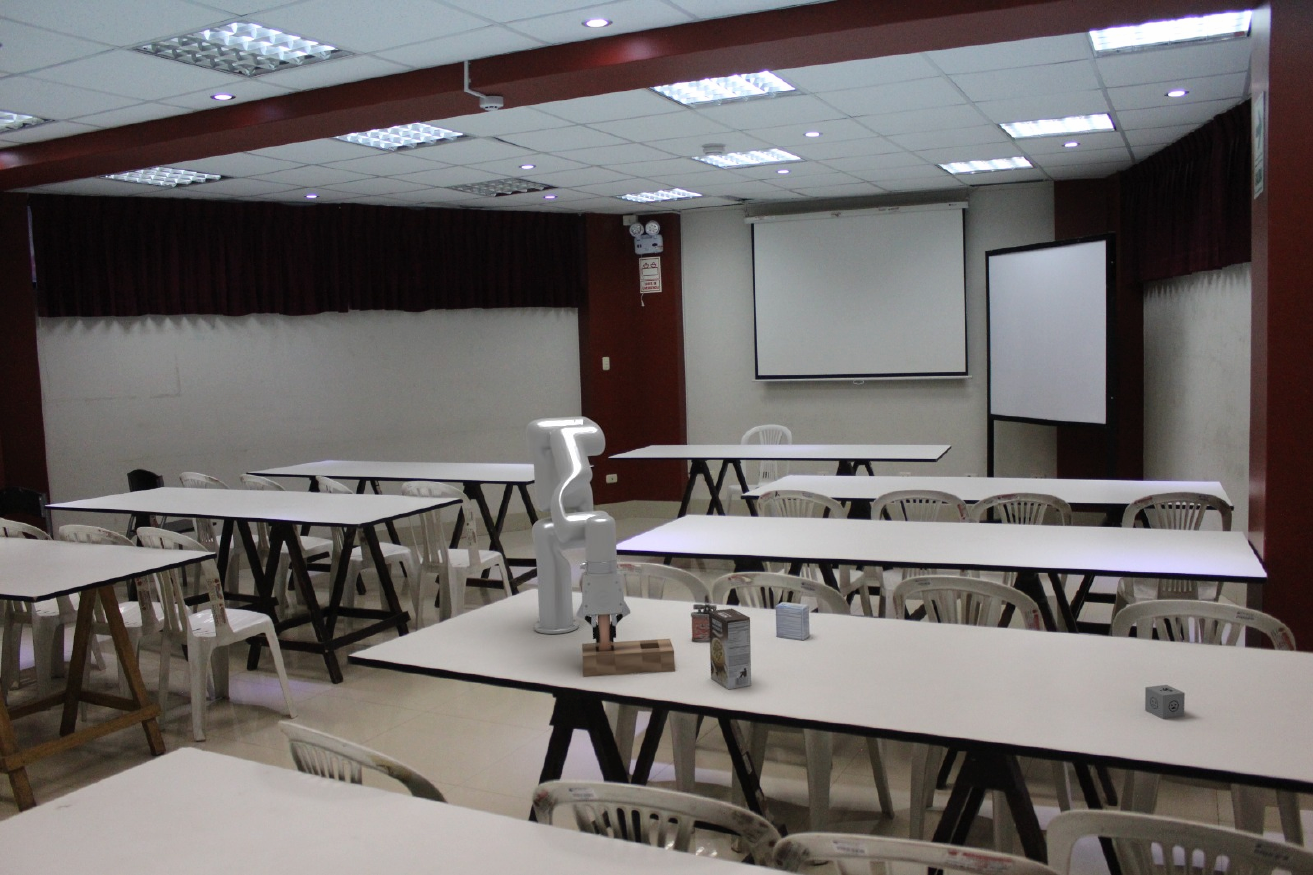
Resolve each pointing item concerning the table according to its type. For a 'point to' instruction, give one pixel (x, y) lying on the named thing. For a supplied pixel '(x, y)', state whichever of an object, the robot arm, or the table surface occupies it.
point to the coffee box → (730, 648)
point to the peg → (604, 633)
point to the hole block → (628, 657)
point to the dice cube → (1164, 701)
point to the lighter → (701, 622)
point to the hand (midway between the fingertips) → (604, 640)
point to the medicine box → (792, 621)
